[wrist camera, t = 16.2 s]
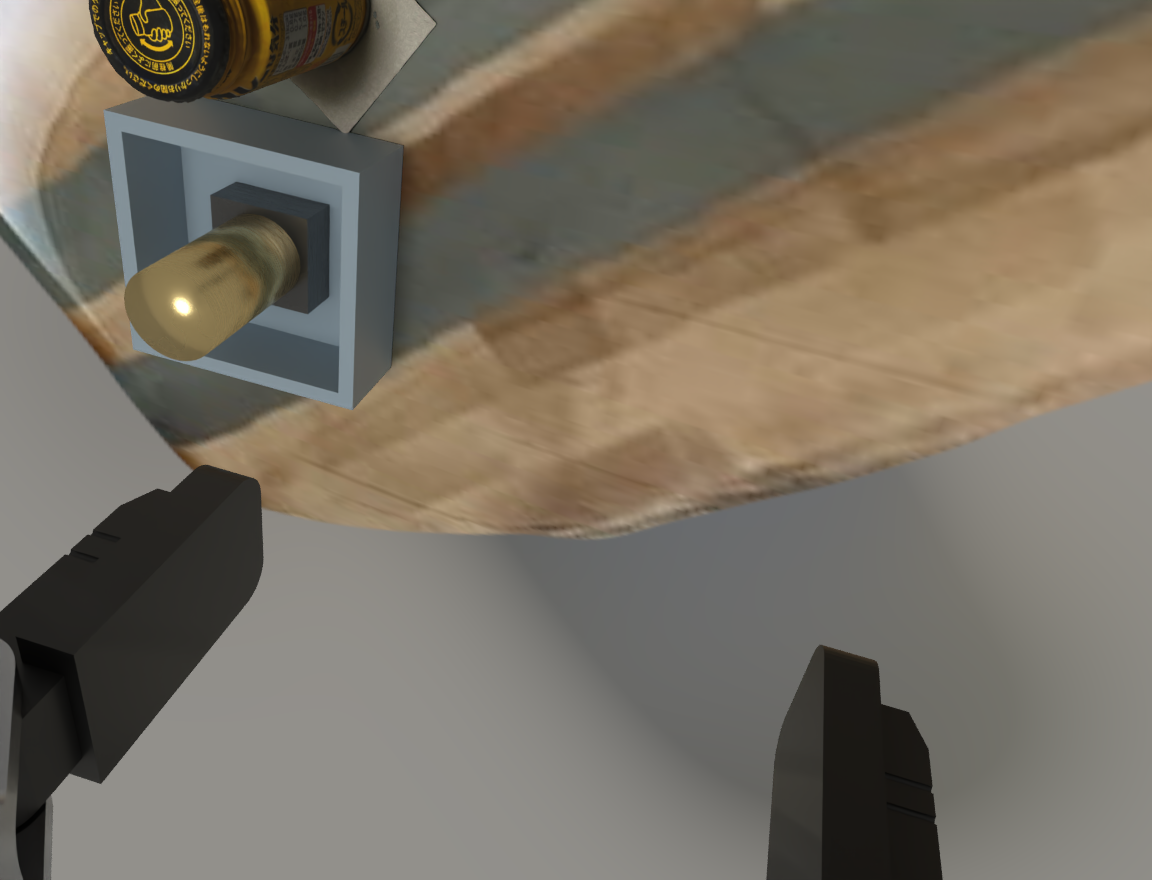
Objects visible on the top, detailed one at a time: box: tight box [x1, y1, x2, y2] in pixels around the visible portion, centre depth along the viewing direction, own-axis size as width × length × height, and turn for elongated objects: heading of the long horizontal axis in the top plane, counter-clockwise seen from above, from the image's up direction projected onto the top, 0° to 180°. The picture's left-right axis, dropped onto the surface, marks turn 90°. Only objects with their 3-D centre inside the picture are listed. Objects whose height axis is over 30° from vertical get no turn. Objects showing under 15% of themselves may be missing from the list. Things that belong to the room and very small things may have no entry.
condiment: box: [89, 0, 436, 133], centre depth 37 cm, size 7×8×12 cm
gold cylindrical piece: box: [124, 182, 330, 361], centre depth 44 cm, size 5×5×10 cm
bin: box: [104, 96, 403, 410], centre depth 47 cm, size 13×13×5 cm
